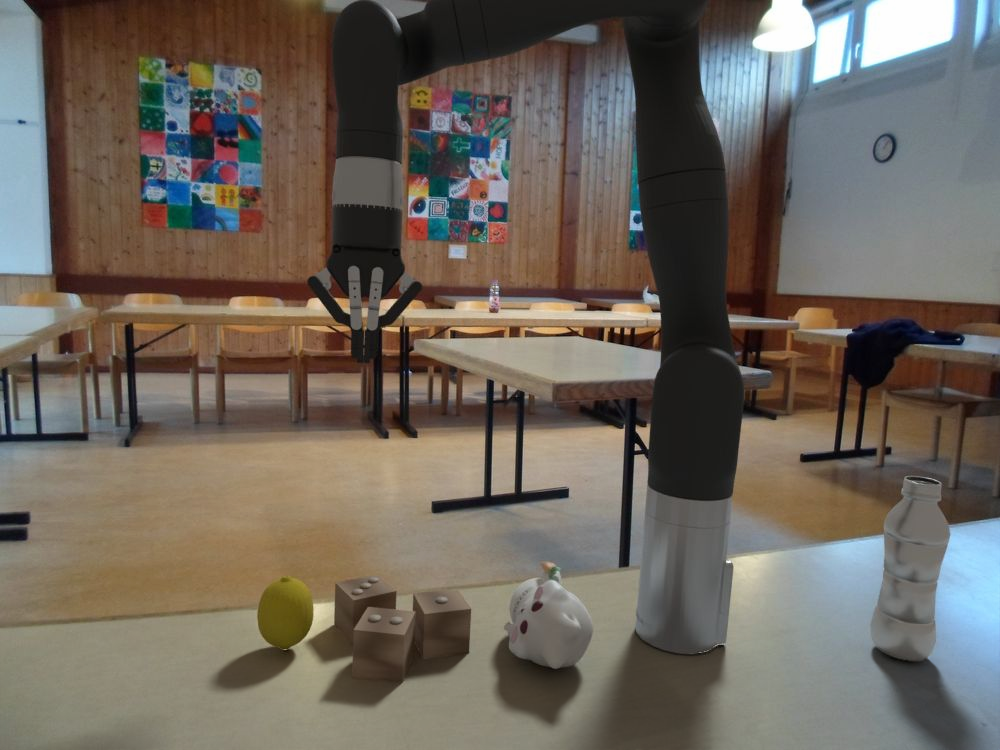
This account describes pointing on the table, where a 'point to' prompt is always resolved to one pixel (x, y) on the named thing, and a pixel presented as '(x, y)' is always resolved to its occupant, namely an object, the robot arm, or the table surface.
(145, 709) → the table surface
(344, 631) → the block three dots
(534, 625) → the cat figurine
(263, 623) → the lemon
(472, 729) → the table surface
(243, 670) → the table surface
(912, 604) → the plastic bottle
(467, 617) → the block one dot
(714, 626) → the robot arm
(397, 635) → the block two dots
